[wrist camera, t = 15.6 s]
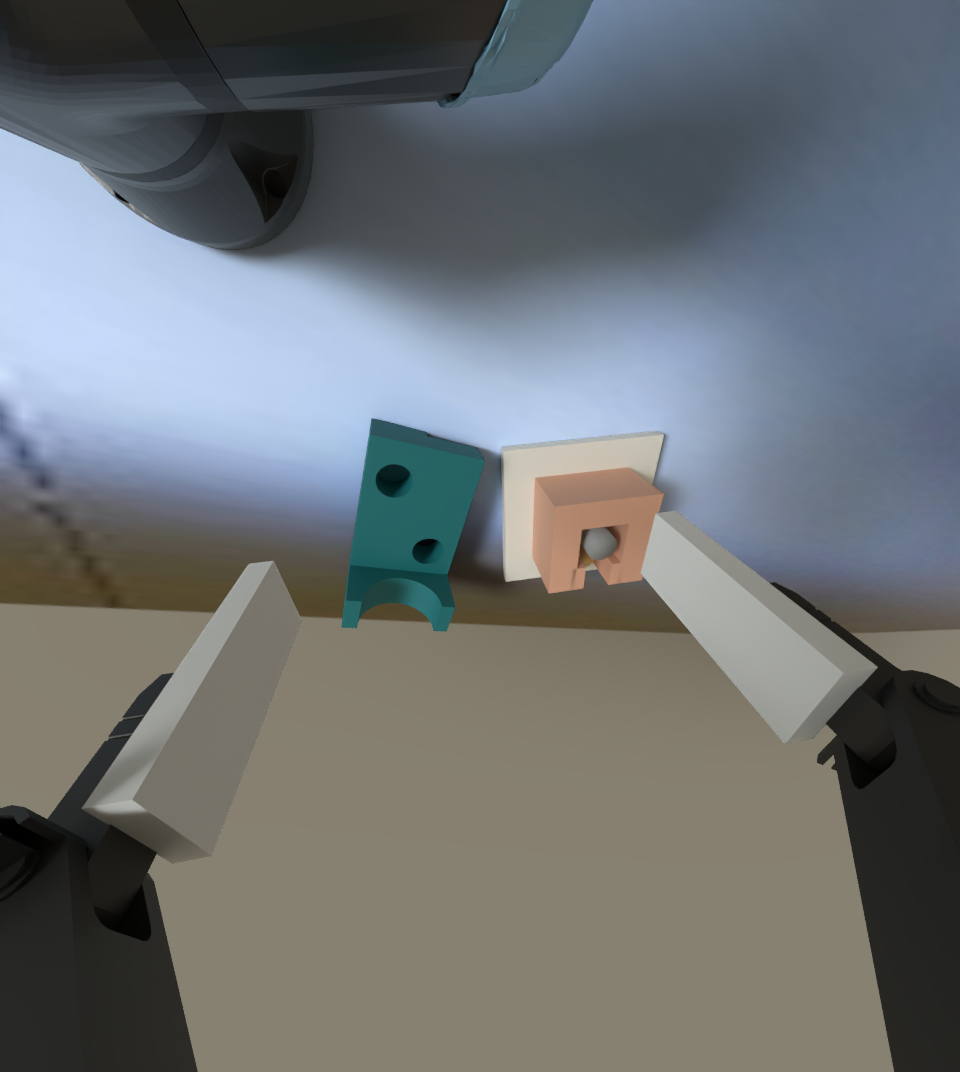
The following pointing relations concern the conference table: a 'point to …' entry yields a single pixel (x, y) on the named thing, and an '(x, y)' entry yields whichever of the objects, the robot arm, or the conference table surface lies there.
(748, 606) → the robot arm
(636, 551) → the orange arch block
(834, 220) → the conference table surface
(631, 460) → the base
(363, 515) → the teal l-shaped bracket
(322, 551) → the conference table surface
